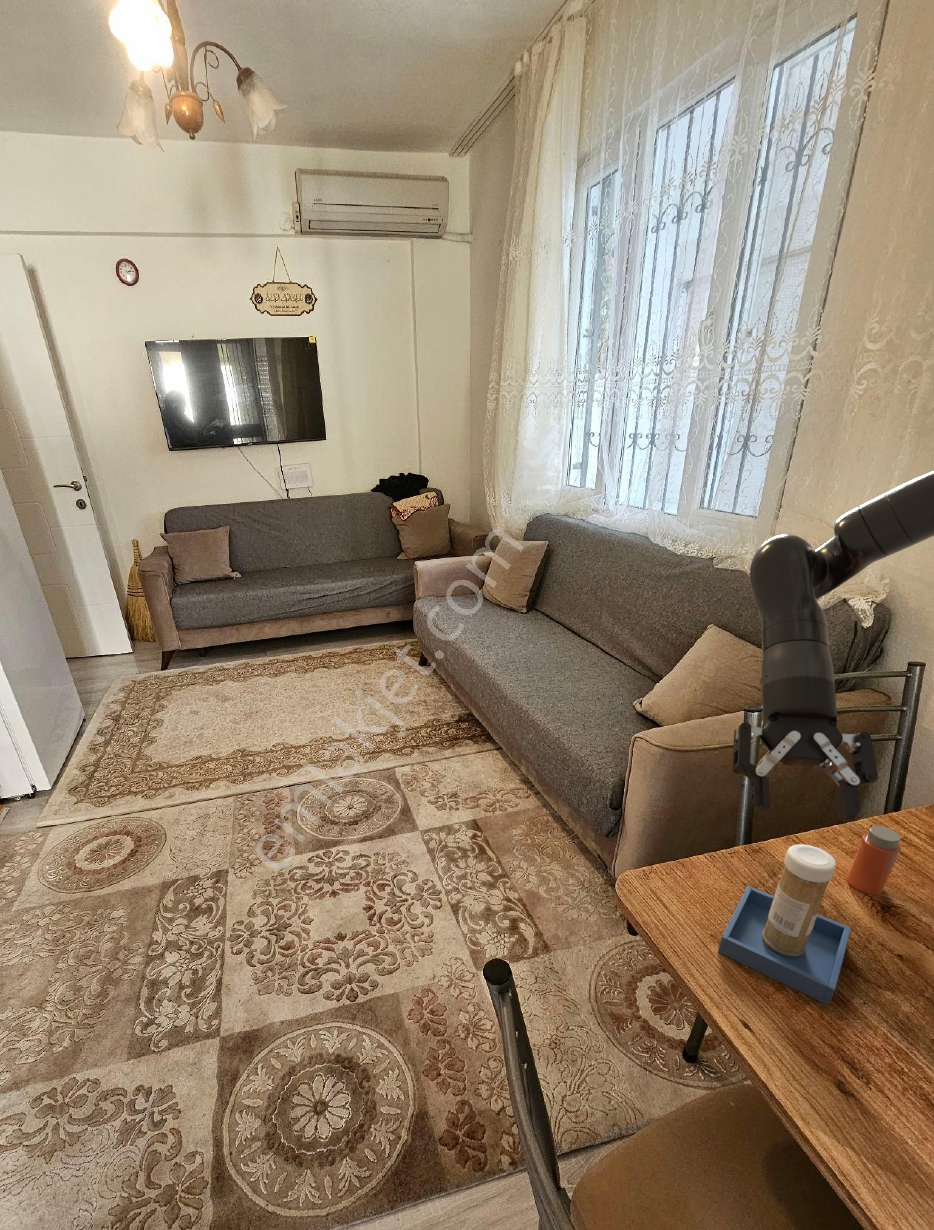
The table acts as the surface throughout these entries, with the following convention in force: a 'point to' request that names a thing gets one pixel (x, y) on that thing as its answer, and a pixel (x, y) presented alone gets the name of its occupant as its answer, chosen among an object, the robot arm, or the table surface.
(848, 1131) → the table surface
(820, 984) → the blue tray
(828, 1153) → the table surface
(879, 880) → the terracotta shaker
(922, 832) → the table surface
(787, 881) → the sprinkles bottle
